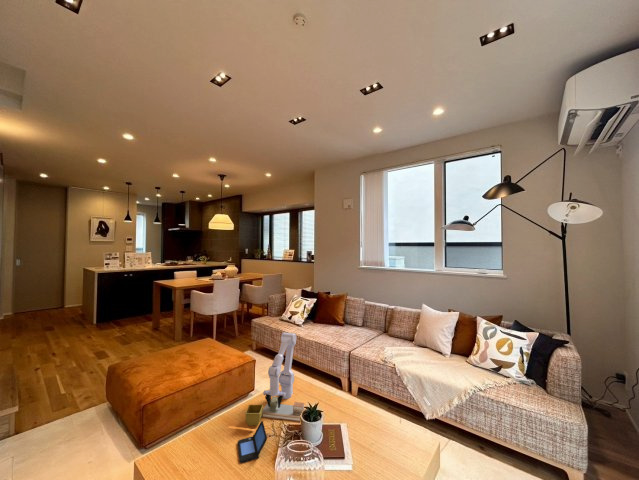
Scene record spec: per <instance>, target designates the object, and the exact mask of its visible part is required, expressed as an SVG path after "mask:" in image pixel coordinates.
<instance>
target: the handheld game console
mask: <svg viewBox="0 0 639 480" xmlns="http://www.w3.org/2000/svg"><path fill="white" fill-rule="evenodd" d="M267 439H268V436H267V431H266V428H265V425H264V421H263V420H260V422H259V424H258V426H257V428H256V430H255V432H254V434H253V435H252V436H248V437H245V438H241V439H239V440H237V449H238V458H239V459H238V460H239V462H240V463H241V464H243V463H247V462H250V461H253V460H258V459H260V454H261V453H262V450H263V449H264V446H265V444H266V442H267Z"/></svg>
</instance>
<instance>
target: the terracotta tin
mask: <svg viewBox="0 0 639 480" xmlns="http://www.w3.org/2000/svg"><path fill="white" fill-rule="evenodd" d="M304 407H305V403H304V402H297V401H295V402H294V404H293V415H294V416H300V415H301V413H302V411H303V410H304Z"/></svg>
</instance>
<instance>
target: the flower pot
mask: <svg viewBox="0 0 639 480" xmlns="http://www.w3.org/2000/svg"><path fill="white" fill-rule="evenodd" d="M263 409H264V405H263V404H248V406H247V409H246V411H245V413H244V415H245V422H246V424H247V426H248V427H249V426H251V427H253V426H256V427H258V426H259V424H260V423H261V419H262V417H261V416H262V411H263Z"/></svg>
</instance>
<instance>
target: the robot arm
mask: <svg viewBox="0 0 639 480" xmlns="http://www.w3.org/2000/svg"><path fill="white" fill-rule="evenodd" d="M297 338H298V337H297V334H296V333H291V332H285V331H283V332H282V333H281V336H280V342H281V343H280V347H279V351H278V354H276V355H275V356H274V359H273V361H272V365H271V366H269V368H268V372H267V374H268V378H269V390H264V391H263V393H262V394H263V396H265V397H264V399H265V400H266V404H267V403H268V406H269V407H270V401H271V399H272V398H273V397H278V398H277V399H278V408H280V404H282V400H283V399H284V400H288V399H291V398H292V395H293V394H295V393H294V392H293V391H294V389H293V388H294V387H293V384H294V382H295V373H294V372H293V370H292V363H293V356H294V348H295V346H296V343H297ZM284 355H285V358H284ZM284 359H285V360H284ZM283 361H285V362H284V366H283V370H282V364H283ZM279 387H280V388H279ZM280 389H281V390H280Z"/></svg>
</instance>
